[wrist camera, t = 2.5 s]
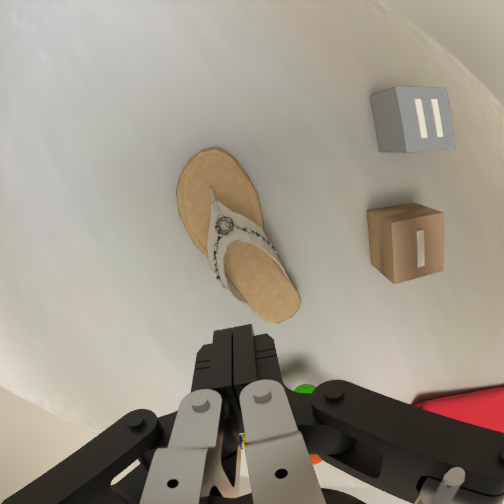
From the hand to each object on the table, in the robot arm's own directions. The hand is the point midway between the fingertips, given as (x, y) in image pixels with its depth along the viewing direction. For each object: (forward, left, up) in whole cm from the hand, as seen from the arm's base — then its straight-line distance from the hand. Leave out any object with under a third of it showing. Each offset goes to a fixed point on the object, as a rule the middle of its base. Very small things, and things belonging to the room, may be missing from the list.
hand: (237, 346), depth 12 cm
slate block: (-16, -8, -16) cm, 24 cm away
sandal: (0, 0, -16) cm, 16 cm away
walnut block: (-14, +2, -16) cm, 21 cm away
